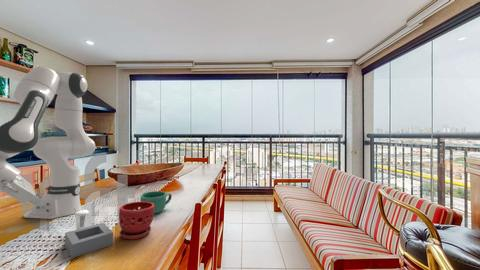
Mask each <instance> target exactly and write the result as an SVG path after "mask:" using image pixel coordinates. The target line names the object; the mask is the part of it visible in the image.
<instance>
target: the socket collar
mask: <svg viewBox="0 0 480 270" xmlns="http://www.w3.org/2000/svg"><path fill="white" fill-rule="evenodd" d="M113 244H114V232H113V231H112V230H111V229H110V227H108V225H106V224H105V223H104V222H101V223H97V224H95V225H89V226H87V227H85V228H81V229H77V230H76V229H73V230H70V231H65V233H64V246H65V248H66V250H67V252H68V254H69V255H70V257H71V259H74V258H76V257H77V258H78V257H80V256H83V255H86V254H89V253H92V252H94V251H98V250H101V249H103V248H106V247H109V246H113Z"/></svg>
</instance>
